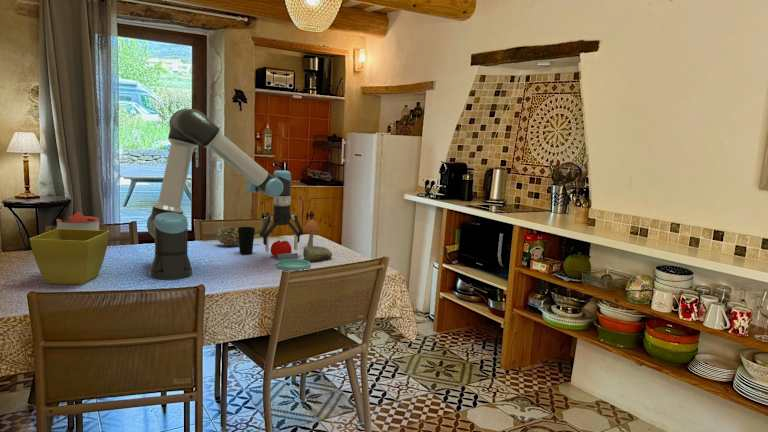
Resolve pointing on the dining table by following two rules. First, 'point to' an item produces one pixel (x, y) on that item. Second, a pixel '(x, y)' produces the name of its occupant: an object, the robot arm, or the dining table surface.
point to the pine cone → (229, 236)
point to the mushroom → (311, 230)
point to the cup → (246, 240)
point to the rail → (287, 256)
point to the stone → (316, 253)
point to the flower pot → (70, 254)
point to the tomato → (280, 248)
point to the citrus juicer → (79, 222)
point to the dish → (293, 264)
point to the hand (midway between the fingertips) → (281, 250)
